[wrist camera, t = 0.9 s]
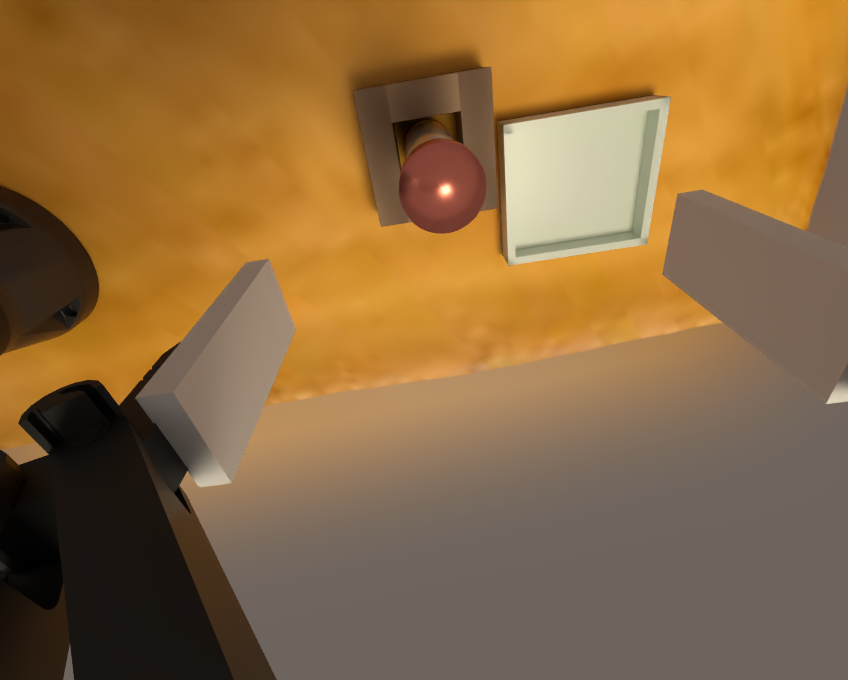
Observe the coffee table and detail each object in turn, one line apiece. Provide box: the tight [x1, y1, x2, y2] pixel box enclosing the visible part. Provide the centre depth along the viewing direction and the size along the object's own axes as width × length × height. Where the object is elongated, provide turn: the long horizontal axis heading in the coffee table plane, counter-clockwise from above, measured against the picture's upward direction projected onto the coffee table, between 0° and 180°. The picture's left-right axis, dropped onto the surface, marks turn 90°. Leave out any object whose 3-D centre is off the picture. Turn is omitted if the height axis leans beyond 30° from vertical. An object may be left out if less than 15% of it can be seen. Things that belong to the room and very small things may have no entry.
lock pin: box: [399, 120, 487, 233], centre depth 29 cm, size 5×5×16 cm
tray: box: [497, 95, 671, 265], centre depth 36 cm, size 13×12×3 cm
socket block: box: [353, 67, 498, 227], centre depth 34 cm, size 10×10×4 cm
